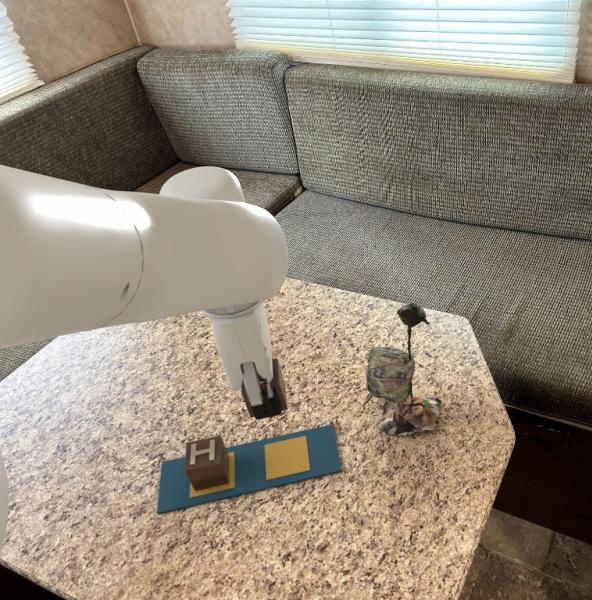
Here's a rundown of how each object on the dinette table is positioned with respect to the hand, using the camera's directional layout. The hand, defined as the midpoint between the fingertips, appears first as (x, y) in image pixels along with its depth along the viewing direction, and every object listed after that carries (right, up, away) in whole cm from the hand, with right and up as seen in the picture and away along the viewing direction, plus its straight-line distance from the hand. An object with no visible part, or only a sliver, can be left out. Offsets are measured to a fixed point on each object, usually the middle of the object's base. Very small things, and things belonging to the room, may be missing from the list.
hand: (267, 398), depth 75 cm
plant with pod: (+17, -5, +12) cm, 22 cm away
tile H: (-9, -11, +7) cm, 16 cm away
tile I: (0, 0, 0) cm, 0 cm away
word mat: (-4, -11, +7) cm, 14 cm away
